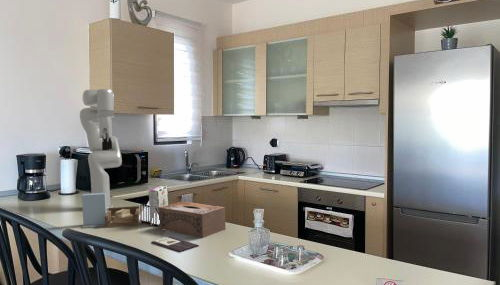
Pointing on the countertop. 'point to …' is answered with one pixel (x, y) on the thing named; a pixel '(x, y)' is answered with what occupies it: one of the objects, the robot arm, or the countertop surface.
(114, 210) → the rack
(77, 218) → the countertop surface
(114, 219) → the offcut lower
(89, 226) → the mat
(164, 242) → the chocolate bar
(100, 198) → the panel
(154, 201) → the candy bar box
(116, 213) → the offcut upper
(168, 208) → the tissue box cover
